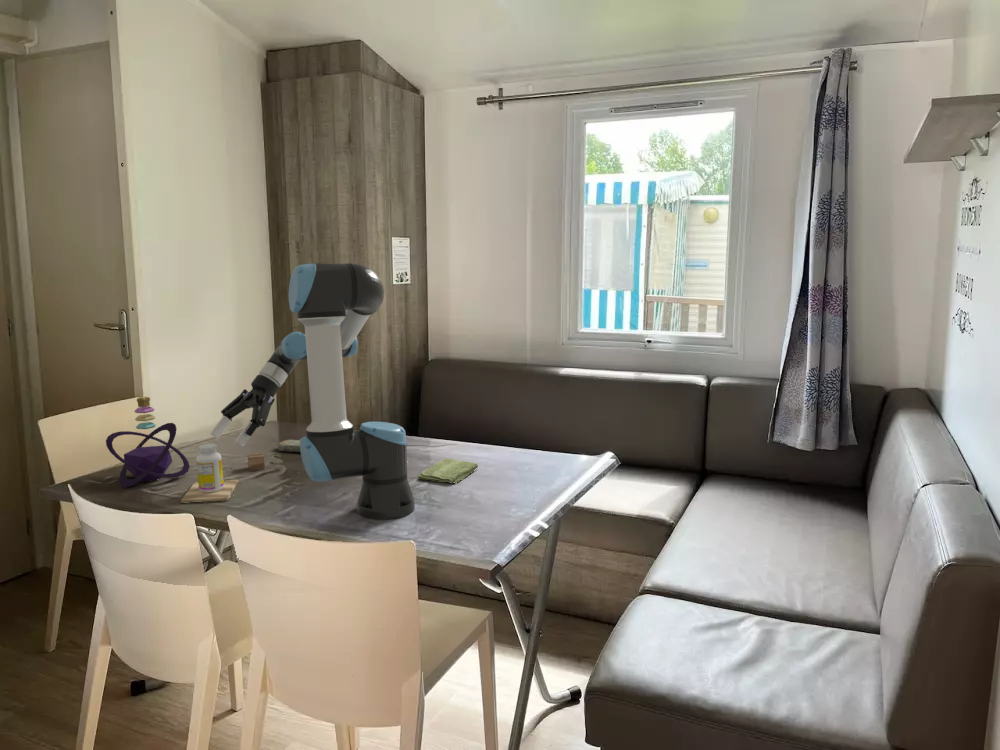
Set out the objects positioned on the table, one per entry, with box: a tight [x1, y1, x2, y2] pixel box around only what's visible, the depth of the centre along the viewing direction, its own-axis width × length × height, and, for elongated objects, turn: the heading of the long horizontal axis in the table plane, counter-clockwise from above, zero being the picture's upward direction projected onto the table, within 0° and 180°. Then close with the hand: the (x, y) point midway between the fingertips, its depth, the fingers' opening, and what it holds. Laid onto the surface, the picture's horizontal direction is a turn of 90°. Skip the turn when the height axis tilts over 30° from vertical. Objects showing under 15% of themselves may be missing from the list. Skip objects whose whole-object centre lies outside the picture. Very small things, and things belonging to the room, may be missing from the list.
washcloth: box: [417, 457, 479, 484], centre depth 224 cm, size 13×18×3 cm
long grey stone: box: [277, 439, 301, 453], centre depth 251 cm, size 35×5×10 cm
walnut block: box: [247, 452, 266, 472], centre depth 231 cm, size 4×4×4 cm
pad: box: [180, 479, 239, 504], centre depth 209 cm, size 16×12×1 cm
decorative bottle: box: [105, 396, 190, 489], centre depth 220 cm, size 22×21×25 cm
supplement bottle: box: [195, 443, 224, 493], centre depth 207 cm, size 7×7×13 cm
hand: (226, 440), depth 211 cm, fingers open, 13 cm apart
